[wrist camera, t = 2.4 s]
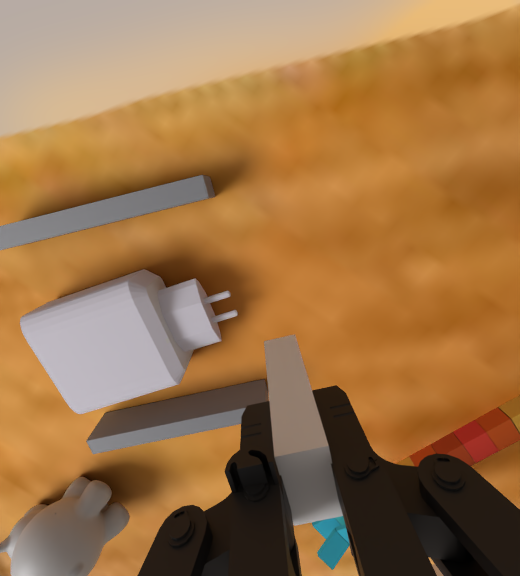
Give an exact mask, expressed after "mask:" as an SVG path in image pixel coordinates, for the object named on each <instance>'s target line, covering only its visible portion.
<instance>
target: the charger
mask: <svg viewBox="0 0 520 576" xmlns="http://www.w3.org/2000/svg"><path fill="white" fill-rule="evenodd" d="M230 295H231V294H230V292H229V291H225V292H222V293H218V294H215V295H212V296H209V297H207V295H206V293H205V291H204V289H203V288H202V286H201V284H200V283H199V281H198V280H197V279H196V278H194V279H192V280H189V281H186V282H183V283H180V284H177V285H174V286H171V287H168V288H166V286H165V284H164V282H163V280H162V278H161V277H160V276H158V275H156V274H154V273H152V272H149V271H147V270H145V269H143V270H140V271H137V272H134V273H131V274H128V275H125V276H123V277H120V278H117V279H114V280H111V281H108V282H105V283H102V284H99V285H96V286H94V287H91V288H88V289H85V290H82V291H79V292H76V293H73V294H70V295H67V296H65V297H62V298H59V299H56V300H53V301H50V302H48V303H46V304H44V305H42V306H40V307H38V308H37V309H35V310H33V311H31V312H29V313H27V314H26V315H24V316H22V317H21V320H20V325H21V329H22V332H23V335H24V337H25V338H26V340H27V342H28V343H29V345H30V347H31V348H32V350H33V351H34V353H35V354H36V356H37V357H38V359H39V361H40V362H41V364H42V365H43V367H44V368H45V370H46V371H47V373H48V375H49V376H50V378H51V379H52V381H53V382H54V384H55V385H56V387H57V389H58V390H59V392H60V393H61V395H62V396H63V398H64V399H65V401H66V403H67V404H68V405H69V407H70V408H71V409H72V410H73V411H74V412H76V413H78V414H83V413H87V412H90V411H93V410H96V409H100V408H103V407H106V406H109V405H113V404H116V403H119V402H122V401H126V400H129V399H132V398H135V397H139V396H142V395H145V394H148V393H152V392H155V391H158V390H161V389H165V388H168V387H171V386H174V385H178V384H179V383H180V382H181V380H182V378H183V376H184V373H185V371H186V369H187V366H188V364H189V361H190V359H191V356H192V353H193V350H194V349H197V348H201V347H204V346H207V345H210V344H213V343H216V342H220V341H222V339H221V333H220V330H219V326H218V323H217V322H219V321H222V320H225V319H229V318H232V317H235V316H237V315H238V311H237V310H233V311H230V312H226V313H223V314H220V315H217V316H215V314H214V311H213V309H212V307H211V304H210V303H212V302H215V301H218V300H221V299H224V298H227V297H230Z"/></svg>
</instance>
